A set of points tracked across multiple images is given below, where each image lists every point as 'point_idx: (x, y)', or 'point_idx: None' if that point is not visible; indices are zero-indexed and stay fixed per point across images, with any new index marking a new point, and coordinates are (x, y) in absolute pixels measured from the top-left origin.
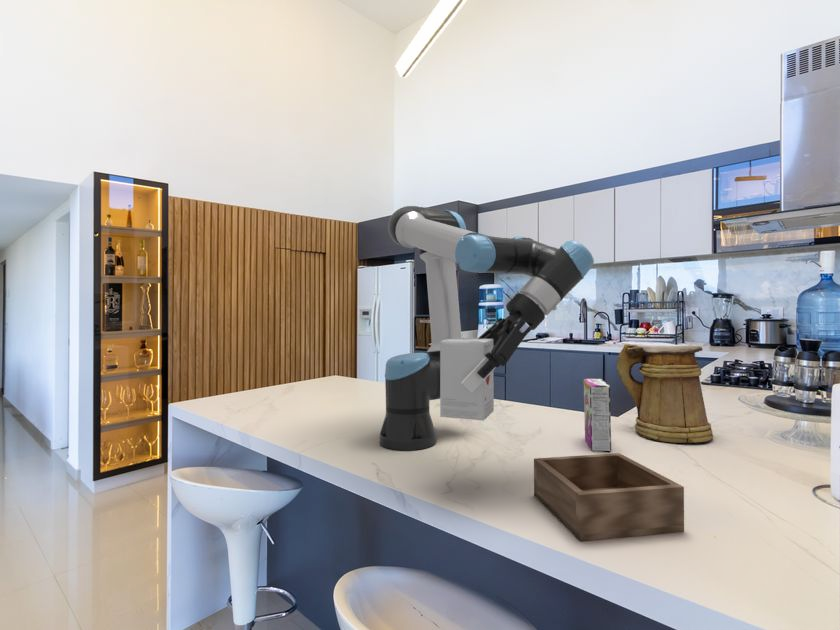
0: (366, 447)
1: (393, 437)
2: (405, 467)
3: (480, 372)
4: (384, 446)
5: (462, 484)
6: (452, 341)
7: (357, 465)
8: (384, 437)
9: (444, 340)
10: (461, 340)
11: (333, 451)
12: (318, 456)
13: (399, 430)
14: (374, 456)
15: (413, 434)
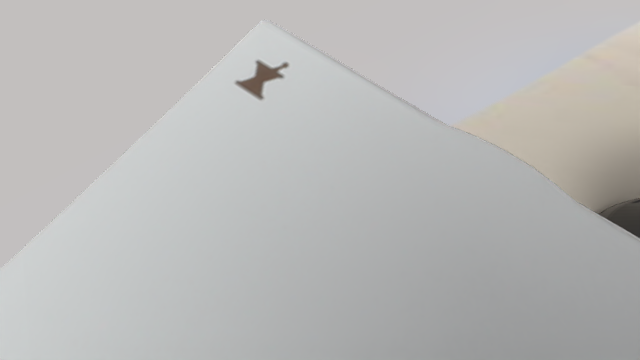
0: (614, 170)
1: (619, 217)
2: None
3: None
4: (612, 206)
5: None
6: (157, 121)
7: (488, 136)
8: (634, 201)
9: (279, 58)
10: (145, 257)
11: (585, 105)
12: (552, 79)
13: (636, 228)
14: (544, 175)
15: None
